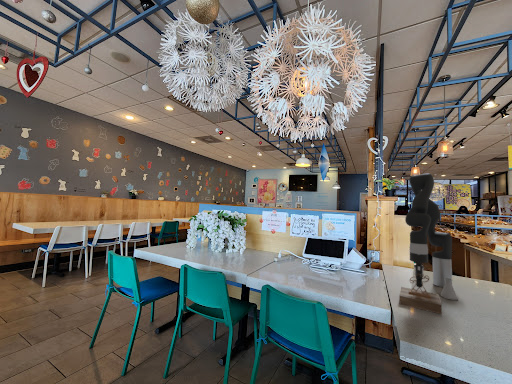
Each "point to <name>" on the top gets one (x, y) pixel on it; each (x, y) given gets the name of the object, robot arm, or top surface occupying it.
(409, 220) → the robot arm
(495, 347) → the top surface
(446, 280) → the flask
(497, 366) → the top surface
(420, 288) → the gingerbread man figurine
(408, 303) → the walnut plinth
